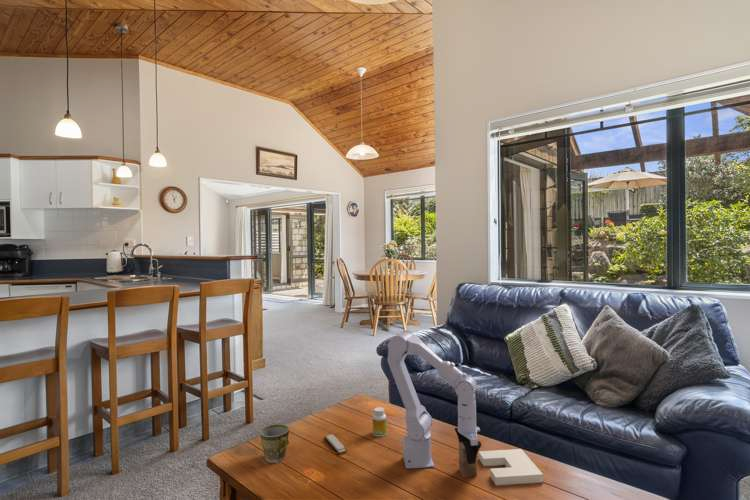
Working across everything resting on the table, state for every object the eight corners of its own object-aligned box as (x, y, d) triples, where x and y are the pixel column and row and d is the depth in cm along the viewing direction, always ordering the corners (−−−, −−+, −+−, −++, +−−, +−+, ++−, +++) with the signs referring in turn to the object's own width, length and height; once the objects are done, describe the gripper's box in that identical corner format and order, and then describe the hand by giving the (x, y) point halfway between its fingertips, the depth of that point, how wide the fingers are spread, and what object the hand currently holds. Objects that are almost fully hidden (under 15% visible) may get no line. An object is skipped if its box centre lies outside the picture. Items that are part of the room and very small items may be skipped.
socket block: (495, 485, 125) (495, 477, 125) (479, 458, 141) (478, 451, 140) (543, 482, 126) (543, 474, 126) (521, 456, 142) (521, 448, 142)
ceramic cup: (255, 458, 143) (254, 430, 143) (279, 448, 151) (278, 421, 150) (276, 472, 134) (275, 442, 134) (300, 460, 142) (300, 431, 142)
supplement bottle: (385, 437, 157) (384, 412, 157) (371, 436, 158) (371, 411, 158) (387, 431, 162) (387, 406, 162) (374, 430, 163) (373, 406, 163)
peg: (463, 476, 130) (462, 448, 130) (459, 469, 134) (458, 442, 134) (476, 476, 130) (476, 447, 130) (472, 468, 135) (472, 441, 134)
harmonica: (323, 439, 158) (323, 434, 157) (331, 437, 159) (331, 432, 159) (338, 456, 145) (338, 451, 145) (346, 454, 146) (346, 448, 146)
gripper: (486, 424, 125) (487, 468, 125) (472, 405, 139) (472, 445, 140) (464, 425, 124) (465, 469, 125) (451, 406, 139) (452, 446, 139)
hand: (467, 456), depth 132 cm, fingers open, 7 cm apart
